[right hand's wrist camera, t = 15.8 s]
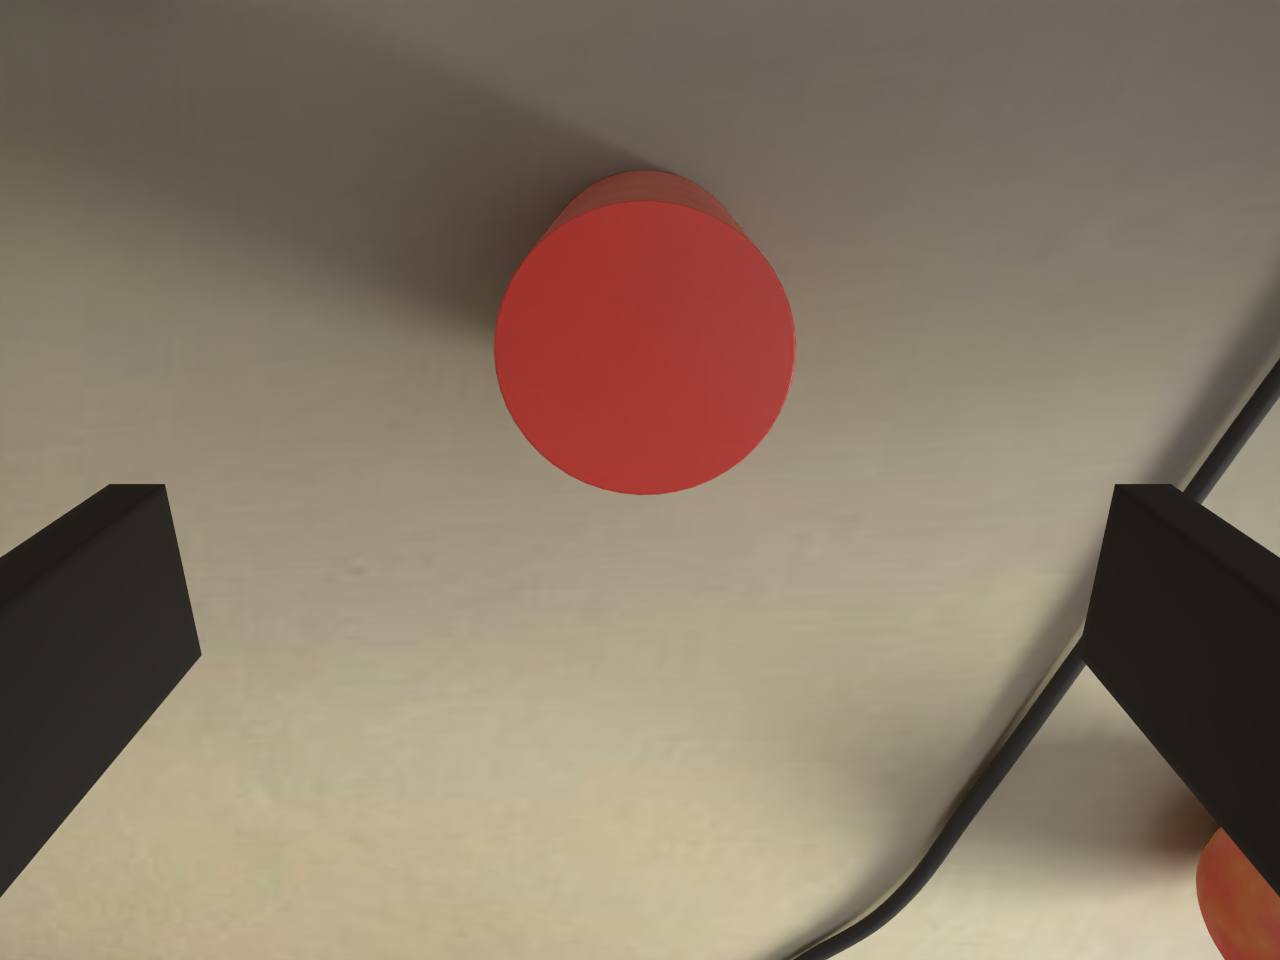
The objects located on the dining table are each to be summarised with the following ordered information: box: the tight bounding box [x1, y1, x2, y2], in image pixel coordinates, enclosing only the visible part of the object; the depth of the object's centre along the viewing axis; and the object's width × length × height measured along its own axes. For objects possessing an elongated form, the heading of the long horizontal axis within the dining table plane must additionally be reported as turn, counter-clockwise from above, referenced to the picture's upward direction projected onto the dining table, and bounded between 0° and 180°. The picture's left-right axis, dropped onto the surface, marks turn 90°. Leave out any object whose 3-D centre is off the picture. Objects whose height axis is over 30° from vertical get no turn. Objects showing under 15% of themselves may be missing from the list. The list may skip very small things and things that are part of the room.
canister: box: [494, 170, 796, 495], centre depth 27 cm, size 8×8×11 cm
